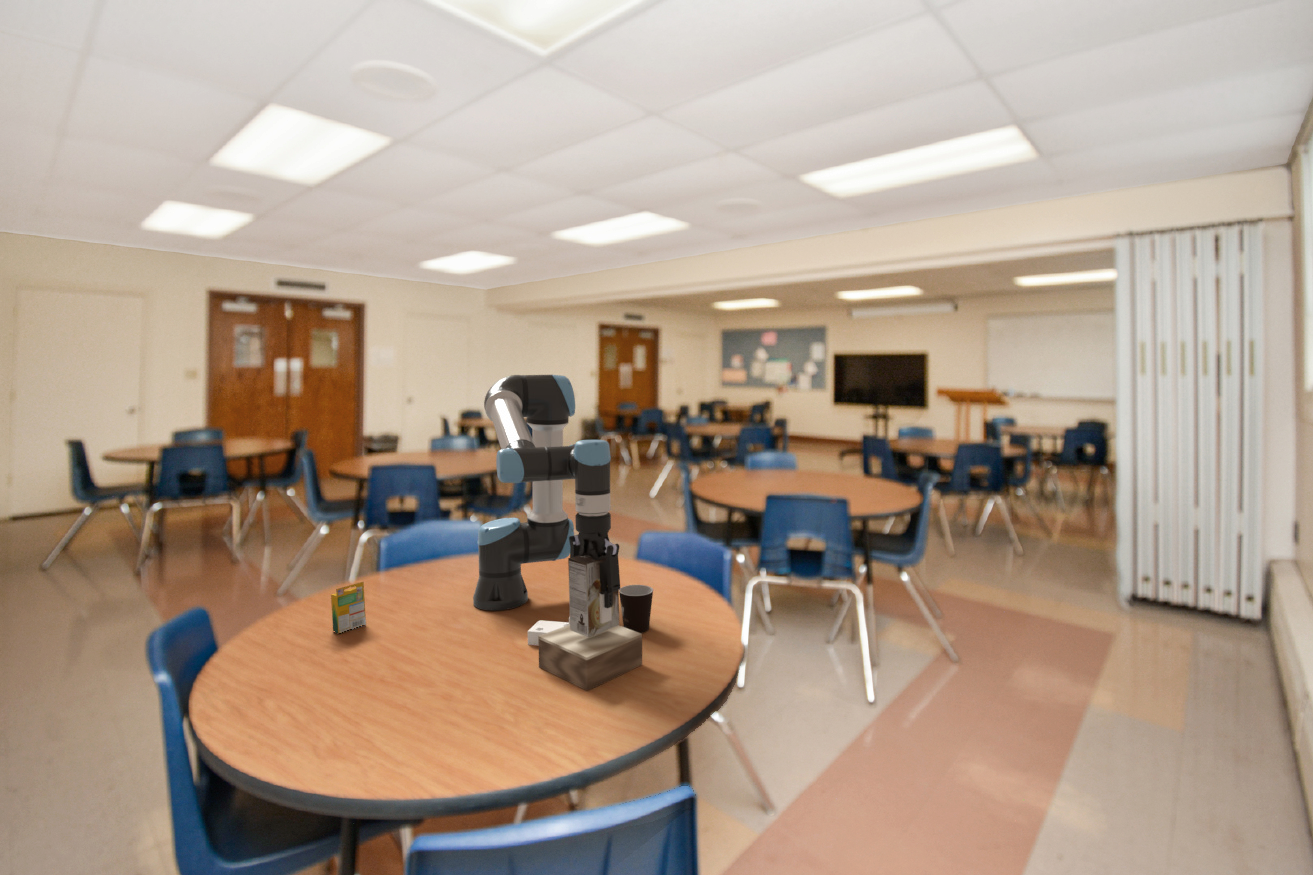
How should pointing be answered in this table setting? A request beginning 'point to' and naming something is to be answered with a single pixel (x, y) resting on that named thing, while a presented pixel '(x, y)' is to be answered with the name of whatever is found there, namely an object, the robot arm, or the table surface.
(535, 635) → the bracket
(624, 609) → the coffee mug
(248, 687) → the table surface
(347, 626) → the crayon box
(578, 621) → the coffee box
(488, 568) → the robot arm
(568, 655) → the riser block
